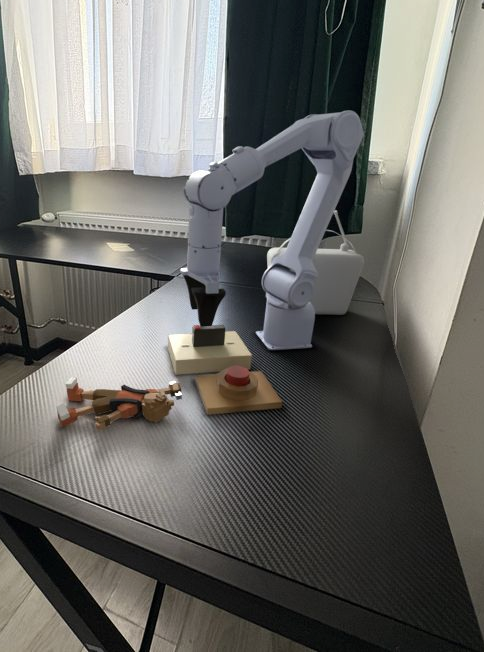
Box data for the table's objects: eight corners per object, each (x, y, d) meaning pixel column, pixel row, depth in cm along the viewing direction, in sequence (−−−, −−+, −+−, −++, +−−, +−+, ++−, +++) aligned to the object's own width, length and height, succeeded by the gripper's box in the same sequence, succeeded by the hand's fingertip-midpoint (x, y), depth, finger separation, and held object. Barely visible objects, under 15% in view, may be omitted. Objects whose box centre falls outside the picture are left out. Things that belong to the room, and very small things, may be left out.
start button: (244, 374, 63) (245, 365, 62) (251, 386, 60) (252, 377, 59) (223, 375, 62) (224, 366, 62) (229, 388, 59) (230, 378, 58)
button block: (260, 376, 67) (262, 361, 66) (281, 408, 59) (284, 392, 58) (194, 381, 65) (195, 366, 64) (206, 415, 57) (208, 398, 56)
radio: (342, 304, 100) (361, 209, 91) (354, 317, 93) (376, 214, 83) (259, 301, 101) (270, 206, 92) (265, 314, 93) (277, 211, 84)
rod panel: (234, 343, 78) (235, 329, 77) (250, 369, 69) (252, 354, 68) (167, 347, 76) (167, 333, 75) (175, 375, 67) (175, 359, 66)
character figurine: (79, 365, 63) (184, 368, 59) (84, 390, 65) (187, 394, 61) (41, 410, 52) (167, 417, 48) (48, 439, 54) (171, 447, 50)
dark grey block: (222, 341, 73) (223, 323, 71) (224, 345, 71) (225, 326, 70) (191, 343, 72) (192, 324, 70) (193, 347, 70) (194, 328, 69)
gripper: (175, 236, 71) (173, 303, 76) (189, 256, 58) (186, 335, 63) (211, 235, 72) (208, 301, 77) (233, 255, 59) (227, 333, 64)
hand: (201, 316), depth 70 cm, fingers open, 7 cm apart
